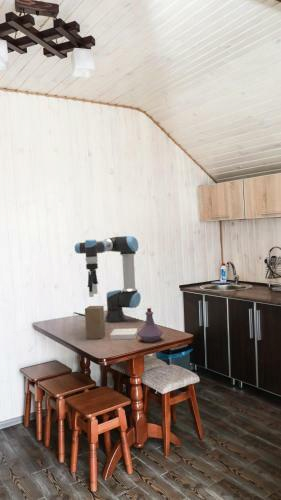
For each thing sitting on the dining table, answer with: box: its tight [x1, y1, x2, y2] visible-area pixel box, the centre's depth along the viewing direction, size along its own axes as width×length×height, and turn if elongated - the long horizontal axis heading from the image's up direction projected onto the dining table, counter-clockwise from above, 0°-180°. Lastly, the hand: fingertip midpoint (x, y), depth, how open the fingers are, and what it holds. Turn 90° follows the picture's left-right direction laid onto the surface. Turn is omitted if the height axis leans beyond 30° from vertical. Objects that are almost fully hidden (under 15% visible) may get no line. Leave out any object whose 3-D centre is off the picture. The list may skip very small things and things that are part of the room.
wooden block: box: [84, 305, 106, 340], centre depth 287 cm, size 10×10×20 cm
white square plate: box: [109, 327, 139, 341], centre depth 286 cm, size 16×16×3 cm
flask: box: [137, 307, 164, 343], centre depth 272 cm, size 16×16×20 cm
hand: (93, 295), depth 286 cm, fingers open, 13 cm apart
